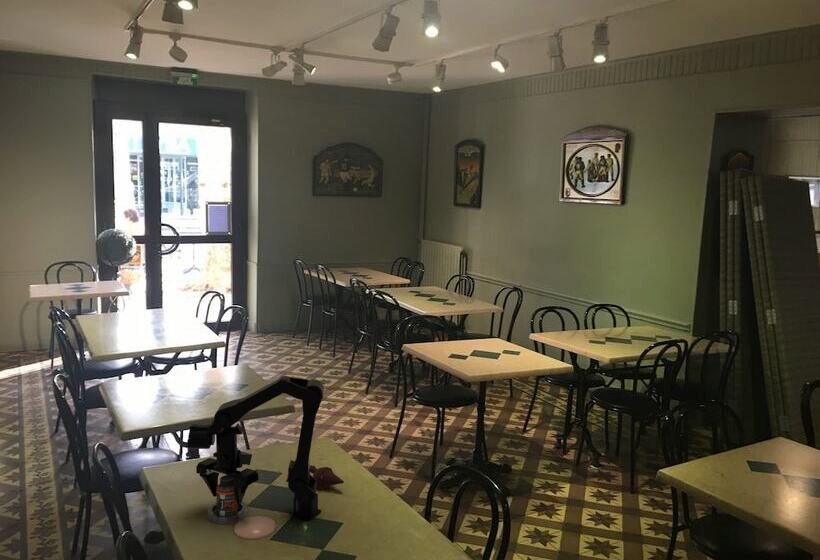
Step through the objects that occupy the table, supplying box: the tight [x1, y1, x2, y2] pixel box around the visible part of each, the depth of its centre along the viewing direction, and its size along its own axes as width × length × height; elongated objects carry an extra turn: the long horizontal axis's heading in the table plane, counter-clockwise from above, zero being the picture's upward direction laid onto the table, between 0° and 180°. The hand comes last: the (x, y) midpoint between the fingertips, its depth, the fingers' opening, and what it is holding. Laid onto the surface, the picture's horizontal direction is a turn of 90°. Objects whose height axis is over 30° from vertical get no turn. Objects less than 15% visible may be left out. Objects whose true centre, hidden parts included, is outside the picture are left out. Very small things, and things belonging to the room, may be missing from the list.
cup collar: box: [207, 501, 248, 525], centre depth 189 cm, size 10×10×2 cm
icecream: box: [310, 464, 345, 490], centre depth 208 cm, size 7×7×15 cm
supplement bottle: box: [216, 475, 239, 516], centre depth 189 cm, size 6×6×11 cm
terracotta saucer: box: [233, 515, 276, 540], centre depth 182 cm, size 11×11×1 cm
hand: (227, 500), depth 189 cm, fingers open, 9 cm apart
